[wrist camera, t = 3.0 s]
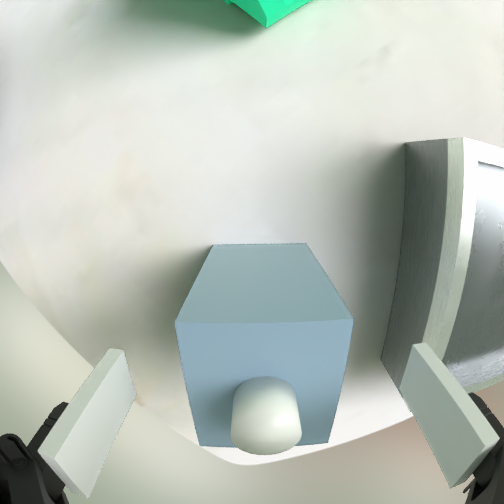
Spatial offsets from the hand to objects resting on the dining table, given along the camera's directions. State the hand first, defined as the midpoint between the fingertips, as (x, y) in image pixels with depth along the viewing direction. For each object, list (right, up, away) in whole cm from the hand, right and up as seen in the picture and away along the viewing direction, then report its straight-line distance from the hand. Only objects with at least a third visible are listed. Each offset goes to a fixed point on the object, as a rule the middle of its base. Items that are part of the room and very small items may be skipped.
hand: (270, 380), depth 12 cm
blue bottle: (0, +3, +8) cm, 9 cm away
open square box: (+18, +5, +7) cm, 20 cm away
